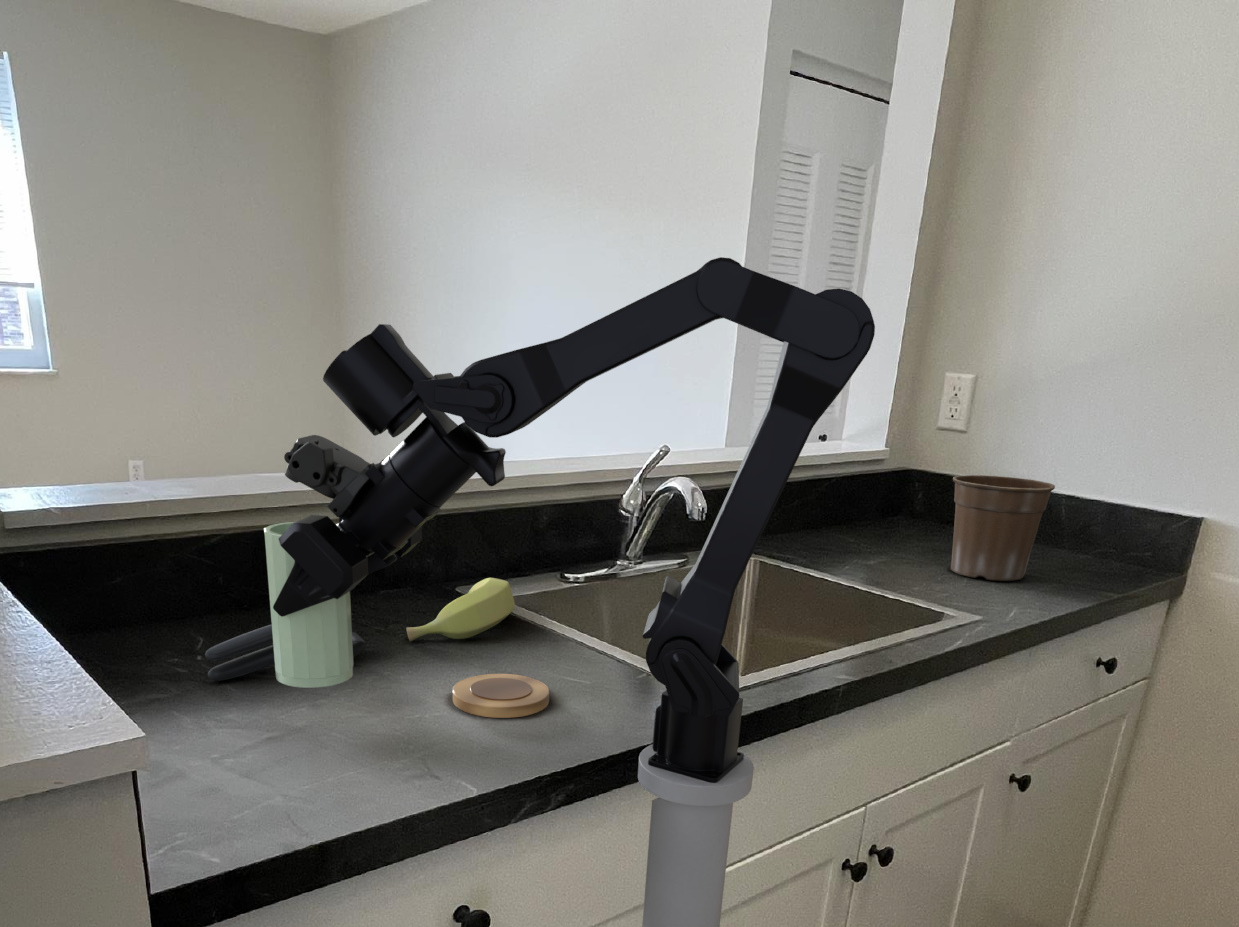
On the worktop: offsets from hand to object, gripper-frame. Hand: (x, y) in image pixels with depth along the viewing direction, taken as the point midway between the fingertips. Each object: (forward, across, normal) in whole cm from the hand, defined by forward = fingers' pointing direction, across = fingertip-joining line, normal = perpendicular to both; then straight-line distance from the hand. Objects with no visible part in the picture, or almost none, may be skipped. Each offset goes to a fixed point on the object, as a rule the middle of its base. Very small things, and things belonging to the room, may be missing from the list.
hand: (295, 601), depth 84 cm
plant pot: (-49, -97, +69) cm, 129 cm away
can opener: (+17, -20, +2) cm, 26 cm away
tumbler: (+4, 0, +6) cm, 7 cm away
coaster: (-1, -15, +20) cm, 25 cm away
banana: (+7, -41, +12) cm, 43 cm away
